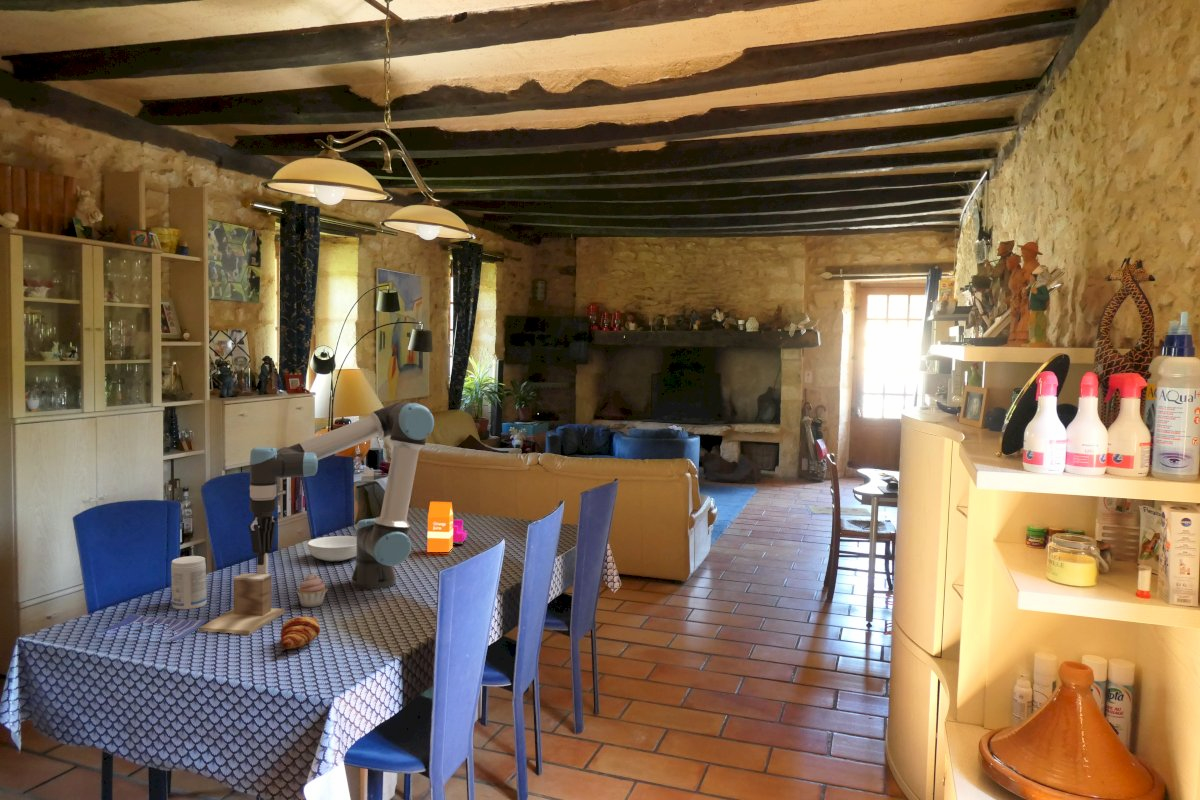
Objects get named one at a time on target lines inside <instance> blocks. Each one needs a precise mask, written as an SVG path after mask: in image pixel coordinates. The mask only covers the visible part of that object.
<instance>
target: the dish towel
mask: <svg viewBox="0 0 1200 800" xmlns="http://www.w3.org/2000/svg"><path fill="white" fill-rule="evenodd" d="M134 622H140V623H142V622H143V623H145V622H147V623H151V624H152V623H157V624H155V625H157V626H160V623H161V624H162V623H166V624H168V625H165V626H163V627H168V628H166V629H163V630H164V631H165V632H167V631H166V630H168V631H169V630H171V631H172V632H173V633H174V632H178V631H179V632H178V633H177V634H175V636H173V637H169V638H167V639H165V640H167V641H177V640H179V639H181V638H183V637H185V636H187V635H189V634H190V633H192V632H194V631H196V630H197V631H199V630H198V629H199V627H201V626H203V625H205V624H207V623H208V622H209V619H208V618H206V619H205V618H203V619H201V618H200V619H184V618H174V617H173V618H172V617H171V618H169V617H159V616H158V617H153V616H145V615H141V614H137V613H132V614H129V615H128V616H126V617H125V618H124V619H122V620H121V621H119V622H117V623H115V624H113V625H110V626H109V627H107V628H104V629H102V630H100V631H99V632H98V633H103V632H106V631H108V630H111V629H115V628H117V627H121V626H124V625H127V624H130V623H131V624H132V623H134ZM158 624H159V625H158ZM169 625H170V626H169ZM173 630H174V631H173ZM197 631H196V632H197ZM160 632H161V633H162V632H163V631H160ZM170 633H171V632H170ZM194 633H195V632H194ZM192 634H193V633H192ZM189 636H190V635H189ZM187 637H188V636H187Z"/></svg>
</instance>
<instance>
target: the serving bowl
mask: <svg viewBox="0 0 1200 800" xmlns="http://www.w3.org/2000/svg"><path fill="white" fill-rule="evenodd" d="M307 547H308V551H309V553H310V554H311V556H312V557H314V558H316V559H318V560H322V561H326V562H341V561H346V560H348V559H352V558H354V557H357V536H352V535H336V536H332V535H331V536H324V537H317V538H314V539H311V540H309V541H308V542H307Z"/></svg>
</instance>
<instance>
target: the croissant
mask: <svg viewBox="0 0 1200 800" xmlns="http://www.w3.org/2000/svg"><path fill="white" fill-rule="evenodd" d="M319 623H320V622H319V620H318V618H315V617H313V616H306V615H304V616H296V617H292V618H291V619H289V620H287V621H286V622H285V623H284V624H283V625H282V627H281V629H280V643H279V644H280V646H281V647H282V648H283V649H285V650H290V649H296V648H301V647H303V646H304V645H306V644H310V643H312V641H313V640H314V639H316V638H317V637H318V636H319V635H320V634H321V627H320V625H319Z"/></svg>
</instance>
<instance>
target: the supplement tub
mask: <svg viewBox="0 0 1200 800" xmlns="http://www.w3.org/2000/svg"><path fill="white" fill-rule="evenodd" d="M170 566H171V567H170V570H171V571H170V572H171V573H170V574H171V577H170V579H171V607H172V608H173V609H176V610H193V609H197V608H198V609H199V608H201V607H203V606H205V605H206V604H207V601H208V599H207V566H206V557H204V556H199V555H188V556H180V557H178V558H174V559H173V560H171V565H170Z"/></svg>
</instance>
